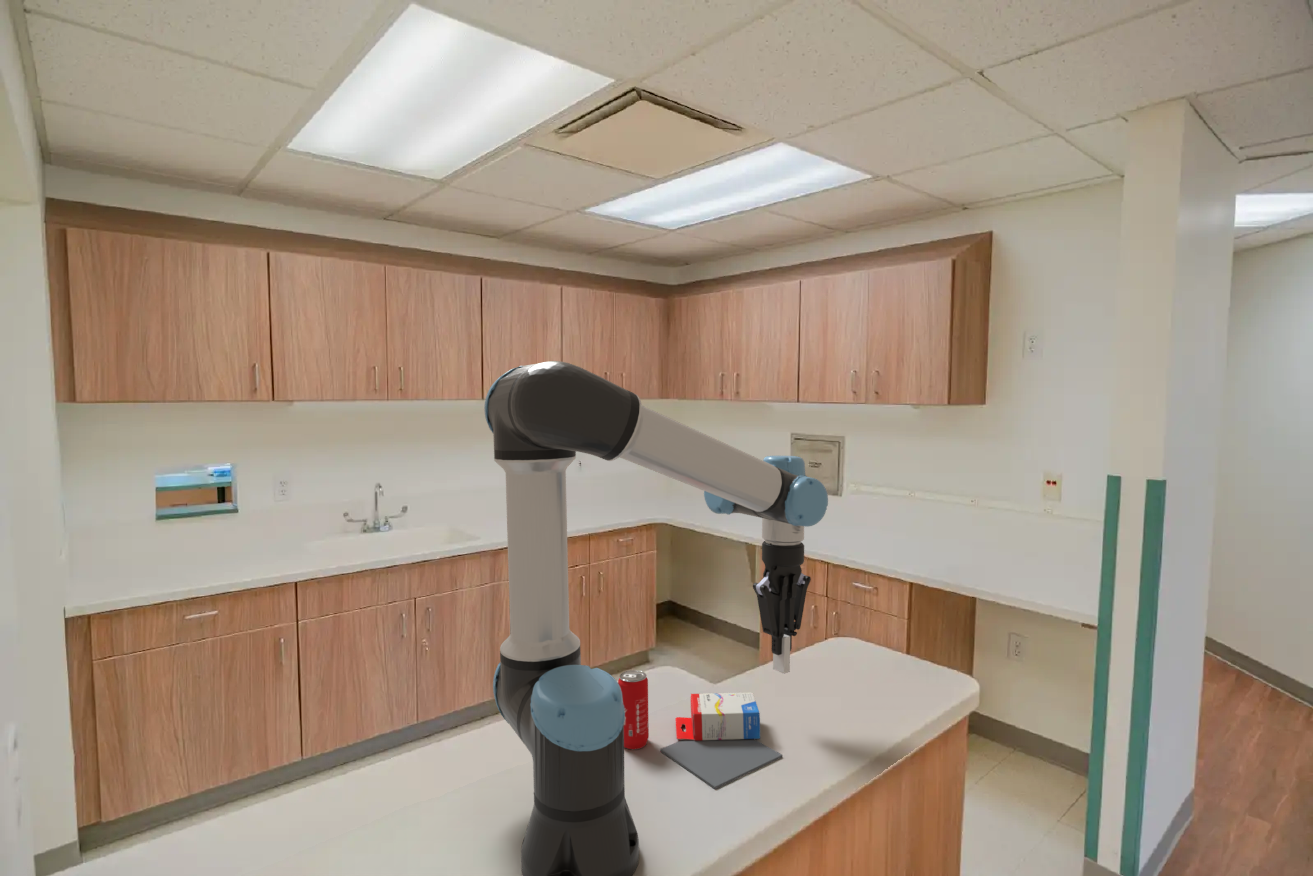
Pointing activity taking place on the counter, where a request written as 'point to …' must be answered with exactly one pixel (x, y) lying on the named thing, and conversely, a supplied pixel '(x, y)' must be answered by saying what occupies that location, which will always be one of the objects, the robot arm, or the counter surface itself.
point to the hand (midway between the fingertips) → (781, 670)
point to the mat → (720, 758)
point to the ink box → (720, 717)
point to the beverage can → (635, 708)
